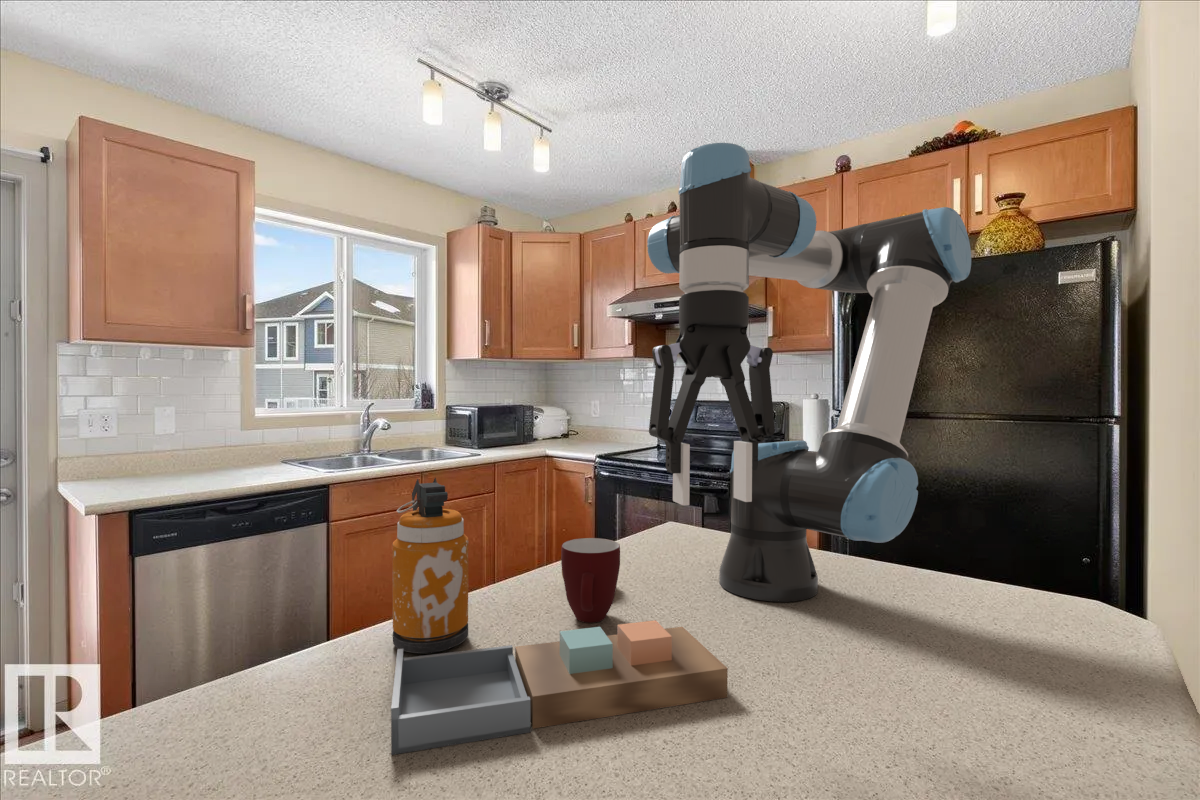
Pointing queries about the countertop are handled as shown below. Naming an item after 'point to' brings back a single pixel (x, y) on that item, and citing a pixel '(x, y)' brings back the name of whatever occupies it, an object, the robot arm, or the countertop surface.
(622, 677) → the tan wooden flat box
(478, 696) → the box
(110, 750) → the countertop surface
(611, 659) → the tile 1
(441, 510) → the canister
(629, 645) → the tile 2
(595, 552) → the mug
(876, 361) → the robot arm
